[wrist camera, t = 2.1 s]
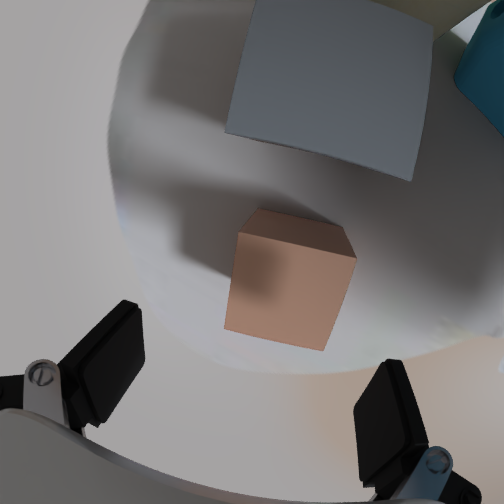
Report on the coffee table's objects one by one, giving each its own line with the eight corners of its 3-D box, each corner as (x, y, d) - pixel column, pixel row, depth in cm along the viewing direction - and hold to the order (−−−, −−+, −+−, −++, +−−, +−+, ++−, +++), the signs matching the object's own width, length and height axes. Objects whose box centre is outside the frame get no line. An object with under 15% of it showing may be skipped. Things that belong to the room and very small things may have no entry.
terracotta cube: (342, 226, 19) (357, 258, 13) (320, 301, 21) (323, 351, 15) (258, 208, 19) (238, 231, 14) (244, 283, 21) (223, 328, 16)
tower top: (401, 55, 10) (433, 25, 6) (380, 172, 13) (410, 181, 9) (274, 23, 11) (261, -19, 7) (248, 138, 13) (224, 132, 9)
